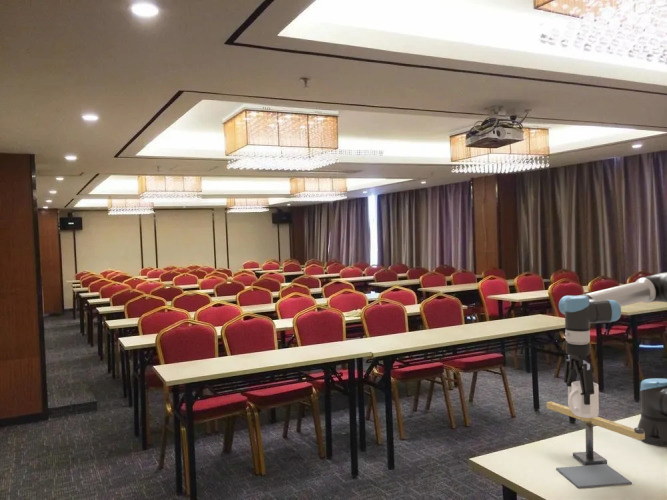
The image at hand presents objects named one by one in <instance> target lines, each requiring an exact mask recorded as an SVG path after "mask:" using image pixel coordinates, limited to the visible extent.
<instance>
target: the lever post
mask: <svg viewBox="0 0 667 500" xmlns="http://www.w3.org/2000/svg"><path fill="white" fill-rule="evenodd" d="M584 424H585V425H584V427H585V451H578V452H576V451H575V452H572V457H573V458H574V459H576V460H577V461H578V462H579V463H581V464H582V466H587V465H601V464H607V465H608V459H606V458H605V457H604V456H602V455H600V454H599V453H598V452H596V451H595V450H594V424H587V423H584Z"/></svg>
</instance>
